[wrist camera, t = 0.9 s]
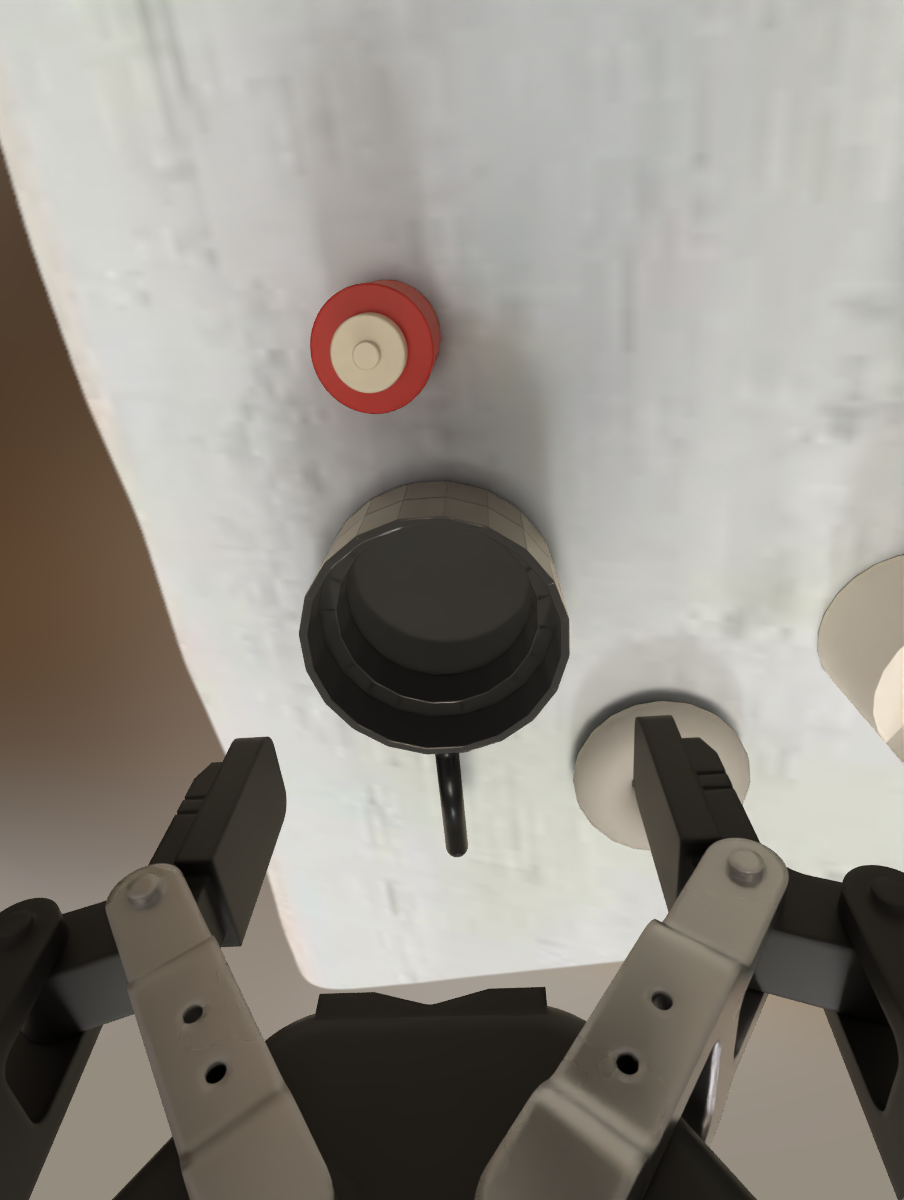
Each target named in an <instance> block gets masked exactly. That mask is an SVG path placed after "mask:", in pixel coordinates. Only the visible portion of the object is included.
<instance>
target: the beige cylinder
mask: <svg viewBox="0 0 904 1200" xmlns="http://www.w3.org/2000/svg"><path fill="white" fill-rule="evenodd" d="M818 654H819V657H820V660H821V663H822V667H823V669H824V670H825V671H826V673H827V674H828V675H829V677H830V678H831V679H832V681H833V682H834V683H835V684H836V686H837V687H838V688H839V689H840V690H841V691H842V693H843V694H844V695H845V696H846V697H847V698H848V700H849V701H850V702H851V703H852V704H853V706H854V707H855V708H856V709H857V710H858V711H859V713H860V714H861V715H862V716H863V717H864V718H865V720H866V721H867V722H868V723H869V724H870V725H871V727H872V728H873V729H874V730H875V731H876V732H877V734H878V735H879V736H880V737H881V738H882V740H883V741H884V742H885V743H886V744H887V745H888V747H889V748H890V749H891V750H892V751H893V752H894V754H895V755H896V756H897V757H898V758H899V759H900V761H901V762H902V763H903V764H904V555H900V556H897V557H894V558H891V559H889V560H886V561H883V562H881V563H878V564H876V565H874V566H872V567H871V568H869V569H868V570H866V571H864V572H863V573H861V574H860V575H858V576H857V577H855V578H854V579H853V580H852V581H851V582H850V583H849V584H847V585H846V586H845V587H844V588H843V589H842V590H841V591H840V592H839V593H838V594H837V595H836V597H835V599H834V600H833V602H832V603H831V605H830V606H829V608H828V609H827V611H826V612H825V614H824V617H823V620H822V623H821V626H820V629H819V632H818Z"/></svg>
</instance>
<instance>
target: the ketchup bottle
mask: <svg viewBox="0 0 904 1200" xmlns="http://www.w3.org/2000/svg"><path fill="white" fill-rule="evenodd" d="M440 342H441V332H440V326H439V322H438V318H437V316H436V313H435V311H434V309H433V308H432V306H431V304H430V303H429V302H428V300H427V299H426V298H425V297H424V296H423V295H422V294H421V293H420V292H419V291H417V290H416V289H415V288H413V287H411V286H410V285H407V284H405V283H403V282H399V281H394V280H379V281H373V282H367V283H361V284H355V285H352V286H349V287H347V288H344V289H342V290H340V291H339V292H337V293H336V294H334V295H333V296H332V297H331V298H330V299H329V300H328V301H327V302H326V303H325V304H324V305H323V307H322V308H321V310H320V311H319V313H318V315H317V317H316V319H315V322H314V325H313V328H312V332H311V340H310V350H311V358H312V362H313V366H314V369H315V371H316V374H317V376H318V378H319V380H320V381H321V383H322V384H323V386H324V387H325V389H326V390H327V391H328V392H329V393H330V394H331V395H332V396H333V397H334V398H335V399H336V400H337V401H339V402H340V403H342V404H343V405H345V406H347V407H349V408H351V409H353V410H356V411H359V412H363V413H370V414H381V413H388V412H391V411H395V410H397V409H399V408H402V407H403V406H405V405H407V404H408V403H409V402H411V401H412V400H413V399H414V398H415V397H416V396H417V395H418V394H419V393H420V392H421V390H422V389H423V387H424V386H425V384H426V382H427V380H428V378H429V376H430V374H431V371H432V369H433V367H434V364H435V362H436V359H437V357H438V354H439V349H440Z"/></svg>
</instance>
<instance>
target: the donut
mask: <svg viewBox="0 0 904 1200" xmlns="http://www.w3.org/2000/svg"><path fill="white" fill-rule="evenodd" d="M658 715H672V717H673V718H674V721H675V723H676V725H677V728H678V730H679V732H680V735H681V737H682V738H692V737H700V738H701V739H702V740H703V741H705V742H706V743H707V744H708V745H709V746H710V747H711V748H713V749H714V750H715V751H716V752H717V753H718V755H719V758H720V760H721V762H722V764H723V766H724V768H725V770H726V774H728V776H729V779H730V781H731V783H732V785H733V789H735V791H736V793H737V795H738V798H739V800H740V802H741V804H742V805H743V802H744V800H745V797H746V794H747V791H748V788H749V785H750V768H749V758H748V755H747V752H746V750H745V749H744V747H743V745H742V743H741V741H740V739H739V737H738V735H737V734H736V732H735V731H734V730H733V729H732V728H731V727H729V726H728V725H727V724H726V723H725V722H724V721H722V720H721V719H720V718H719V717H718V716H717V715H716V714H713V713H711V712H708V711H706V710H703V709H701V708H699V707H696V706H694V705H691V704H688V703H679V702H669V701H657V702H651V703H645V704H639V705H634V706H632V707H630V708H628V709H625V710H623V711H621V712H619V713H616V714H614V715H612V716H611V717H609V718H608V719H607V720H606V721H605V722H603V723H602V724H601V725H600V726H598V727H597V728H596V729H595V730H594V731H593V732H592V733H591V735H590V736H589V738H588V739H587V741H586V742H585V744H584V745H583V747H582V749H581V750H580V752H579V753H578V757H577V762H576V766H575V771H574V778H573V781H574V786H575V792H576V797H577V802H578V804H579V806H580V808H581V809H582V811H583V812H584V814H585V816H586V817H587V819H588V820H589V822H590V823H591V824H592V825H593V826H594V827H595V828H596V829H598V830H599V831H600V832H602V833H603V834H604V835H606V836H607V837H608V838H610V839H611V840H612V841H614V842H617V843H620V844H623V845H625V846H628V847H631V848H634V849H641V850H651V849H650V846H649V842H648V839H647V835H646V832H645V829H644V825H643V822H642V818H641V815H640V811H639V808H638V804H637V800H636V795H635V789H634V787H633V786H632V781H633V779H634V778H633V766H634V728H635V719H636V717H640V716H658Z"/></svg>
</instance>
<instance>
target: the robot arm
mask: <svg viewBox="0 0 904 1200" xmlns="http://www.w3.org/2000/svg"><path fill="white" fill-rule="evenodd" d="M633 778H634V789H635V795H636V800H637V804H638V808H639V811H640V815H641V818H642V822H643V825H644V829H645V832H646V835H647V839H648V842H649V846H650V849H651V853H652V856H653V860H654V863H655V867H656V870H657V874H658V877H659V881H660V884H661V887H662V891H663V894H664V898H665V901H666V905H667V908H668V912H669V913H668V915H667V916H666V918H665V919H664V921H663V922H660V921H658V920H656V919H654V920H652V921H651V922H650V923H649V924H648V925H647V926H646V928H645V929H644V931H643V932H642V934H641V935H640V937H639V939H638V940H637V942H636V943H635V945H634V947H633V948H632V950H631V951H630V953H629V955H628V956H627V958H626V959H625V961H624V963H623V964H622V966H621V967H620V969H619V971H618V972H617V974H616V976H615V977H614V979H613V980H612V982H611V984H610V985H609V987H608V988H607V990H606V992H605V993H604V995H603V996H602V998H601V999H600V1001H599V1003H598V1004H597V1006H596V1007H595V1009H594V1011H593V1012H592V1014H591V1016H590V1017H589V1019H588V1020H587V1021H585V1020H582V1019H581V1018H579V1017H577V1016H575V1015H573V1014H571V1013H568V1012H565V1011H563V1010H560V1009H557V1008H553V1007H549V1006H547V1000H546V990H545V987H531V988H498V989H486V990H483V991H480V992H476V993H472V994H469V995H465V996H462V997H458V998H455V999H451V1000H448V1001H444V1002H441V1003H437V1004H433V1005H428V1004H422V1003H418V1002H413V1001H409V1000H404V999H400V998H396V997H392V996H388V995H384V994H379V993H375V992H371V993H370V992H367V993H335V994H320V995H319V999H318V1004H317V1009H316V1014H313V1015H309V1016H307V1017H304V1018H302V1019H300V1020H297V1021H295V1022H293V1023H291V1024H289V1025H288V1026H286V1027H284V1028H282V1029H281V1030H279V1031H278V1032H276V1033H275V1034H273V1035H272V1036H271V1037H269V1038H268V1039H267V1040H266V1041H264V1039H263V1037H262V1034H261V1032H260V1030H259V1028H258V1026H257V1024H256V1022H255V1020H254V1018H253V1016H252V1013H251V1011H250V1009H249V1007H248V1005H247V1003H246V1001H245V999H244V997H243V995H242V993H241V990H240V988H239V986H238V984H237V982H236V980H235V978H234V976H233V974H232V972H231V969H230V967H229V965H228V963H227V961H226V959H225V957H224V955H223V953H222V951H221V947H233V946H241V945H242V942H243V939H244V936H245V933H246V930H247V927H248V924H249V921H250V918H251V916H252V913H253V910H254V907H255V903H256V901H257V898H258V895H259V892H260V889H261V886H262V883H263V880H264V877H265V874H266V871H267V868H268V865H269V862H270V859H271V856H272V854H273V851H274V848H275V845H276V842H277V839H278V836H279V833H280V830H281V827H282V824H283V821H284V818H285V813H286V791H285V786H284V783H283V779H282V775H281V771H280V767H279V763H278V759H277V755H276V751H275V748H274V744H273V741H272V739H271V738H270V737H254V738H237V739H235V740H234V741H233V742H232V744H231V746H230V748H229V750H228V752H227V754H226V756H225V758H224V760H223V762H216V763H211V764H210V765H209V766H208V767H207V768H206V769H205V770H203V771H202V772H201V773H200V774H199V775H198V776H197V777H196V778H195V779H194V781H193V783H192V784H191V786H190V788H189V790H188V792H187V794H186V796H185V800H183V801H182V803H181V805H180V807H179V809H178V811H177V815H175V816H174V818H173V820H172V822H171V824H170V826H169V827H168V830H167V831H166V833H165V835H164V837H163V839H162V841H161V842H160V844H159V846H158V848H157V850H156V852H155V854H154V856H153V857H152V859H151V861H150V863H149V865H148V866H145V867H142V868H140V869H138V870H136V871H134V872H132V873H130V874H129V875H127V876H126V877H124V878H123V879H122V880H121V881H120V882H119V883H118V884H117V885H116V886H115V887H114V888H113V890H112V891H111V893H110V894H109V896H108V898H107V900H106V901H103V902H101V903H98V904H94V905H91V906H88V907H84V908H81V909H78V910H75V911H72V912H68V913H65V914H62V913H61V911H60V909H59V907H58V906H57V904H56V903H55V902H54V901H52V900H50V899H47V898H33V899H28V900H25V901H22V902H19V903H16V904H14V905H12V906H10V907H8V908H7V909H5V910H3V911H2V912H0V1200H29V1198H30V1196H31V1193H32V1191H33V1188H34V1186H35V1184H36V1182H37V1179H38V1177H39V1174H40V1172H41V1169H42V1167H43V1165H44V1163H45V1160H46V1158H47V1155H48V1153H49V1151H50V1148H51V1146H52V1144H53V1141H54V1139H55V1137H56V1134H57V1132H58V1130H59V1127H60V1125H61V1123H62V1120H63V1118H64V1115H65V1113H66V1111H67V1108H68V1106H69V1103H70V1101H71V1099H72V1097H73V1094H74V1092H75V1089H76V1087H77V1085H78V1082H79V1080H80V1077H81V1075H82V1073H83V1071H84V1068H85V1066H86V1063H87V1061H88V1059H89V1056H90V1054H91V1052H92V1049H93V1047H94V1045H95V1042H96V1040H97V1037H98V1035H99V1033H100V1030H101V1028H102V1026H103V1024H106V1023H109V1022H112V1021H115V1020H118V1019H121V1018H124V1017H127V1016H130V1015H133V1014H135V1017H136V1020H137V1023H138V1026H139V1030H140V1033H141V1036H142V1039H143V1043H144V1046H145V1049H146V1052H147V1055H148V1059H149V1062H150V1065H151V1068H152V1072H153V1075H154V1078H155V1081H156V1084H157V1088H158V1091H159V1094H160V1097H161V1100H162V1104H163V1107H164V1110H165V1113H166V1117H167V1120H168V1123H169V1126H170V1129H171V1132H172V1137H171V1138H170V1140H169V1141H168V1142H167V1143H166V1144H165V1145H164V1146H163V1147H162V1148H161V1149H160V1150H159V1151H158V1152H157V1153H156V1154H155V1155H154V1156H153V1158H151V1160H150V1161H149V1162H148V1163H147V1164H146V1165H145V1166H144V1167H143V1168H142V1169H141V1170H140V1171H139V1172H138V1173H137V1174H136V1175H135V1176H134V1177H133V1178H132V1180H130V1182H129V1183H128V1184H127V1185H126V1186H125V1187H124V1188H123V1189H122V1190H121V1191H120V1192H119V1193H118V1194H117V1195H116V1196H115V1197H114V1199H112V1200H757V1199H756V1198H755V1197H754V1196H753V1195H752V1194H751V1193H750V1192H749V1191H748V1190H747V1188H746V1187H745V1186H744V1185H743V1184H742V1183H741V1182H740V1181H739V1180H738V1179H737V1177H736V1176H735V1175H734V1174H733V1173H732V1172H731V1171H730V1170H729V1169H728V1167H726V1165H725V1164H724V1163H723V1162H722V1161H721V1160H720V1159H719V1158H718V1157H717V1156H716V1154H715V1153H714V1152H713V1151H712V1150H711V1149H710V1148H709V1147H710V1145H711V1143H712V1140H713V1138H714V1135H715V1133H716V1130H717V1128H718V1125H719V1123H720V1120H721V1117H722V1114H723V1111H724V1108H725V1105H726V1101H727V1098H728V1094H729V1090H730V1087H731V1084H732V1081H733V1078H734V1075H735V1072H736V1070H737V1067H738V1065H739V1062H740V1060H741V1058H742V1055H743V1053H744V1051H745V1048H746V1046H747V1043H748V1041H749V1039H750V1036H751V1034H752V1032H753V1029H754V1027H755V1025H756V1022H757V1020H758V1018H759V1015H760V1013H761V1010H762V1008H763V1006H764V1003H765V1001H766V998H767V996H768V994H772V995H776V996H780V997H783V998H787V999H791V1000H794V1001H798V1002H802V1003H805V1004H809V1005H813V1006H816V1007H820V1008H823V1009H824V1011H825V1014H826V1016H827V1019H828V1022H829V1024H830V1027H831V1029H832V1032H833V1034H834V1037H835V1039H836V1042H837V1045H838V1047H839V1050H840V1052H841V1055H842V1057H843V1060H844V1063H845V1065H846V1068H847V1070H848V1073H849V1075H850V1078H851V1081H852V1083H853V1086H854V1088H855V1090H856V1093H857V1096H858V1098H859V1101H860V1104H861V1106H862V1109H863V1111H864V1114H865V1116H866V1119H867V1121H868V1124H869V1127H870V1129H871V1132H872V1134H873V1137H874V1140H875V1142H876V1145H877V1147H878V1150H879V1152H880V1155H881V1157H882V1160H883V1162H884V1165H885V1168H886V1170H887V1173H888V1176H889V1178H890V1181H891V1183H892V1186H893V1188H894V1191H895V1193H896V1196H897V1199H898V1200H904V873H903V872H901V871H898V870H896V869H893V868H889V867H884V866H878V865H865V866H860V867H857V868H854V869H852V870H851V871H849V872H848V873H847V874H846V876H845V877H844V880H843V883H842V882H837V881H832V880H828V879H823V878H818V877H813V876H809V875H805V874H802V873H799V872H796V871H794V870H791V869H789V868H787V867H786V865H785V863H784V862H783V860H782V859H781V858H780V857H779V856H778V855H777V854H776V853H775V852H774V851H772V850H771V849H770V848H768V847H766V846H765V845H762V844H761V843H760V842H759V840H758V837H757V835H756V833H755V831H754V829H753V827H752V825H751V823H750V821H749V819H748V816H747V814H746V812H745V810H744V808H743V806H742V804H741V802H740V800H739V798H738V795H737V793H736V791H735V789H733V785H732V783H731V781H730V779H729V776H728V774H726V770H725V768H724V766H723V764H722V762H721V760H720V758H719V755H718V753H717V752H716V751H715V750H714V749H713V748H711V747H710V746H709V745H708V744H707V743H706V742H705V741H703V740H702V739H701V738H700V737H692V738H682V737H681V735H680V732H679V730H678V728H677V725H676V723H675V721H674V718H673V717H672V715H658V716H640V717H636V719H635V728H634V766H633Z"/></svg>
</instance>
